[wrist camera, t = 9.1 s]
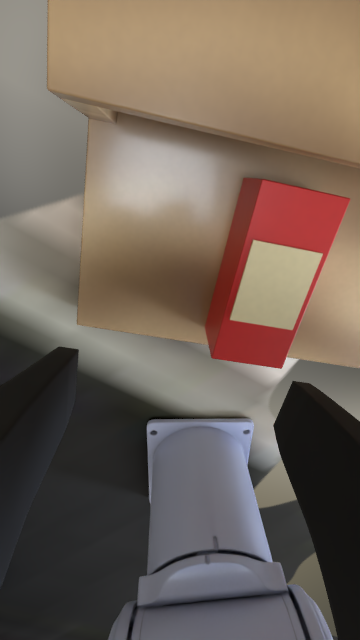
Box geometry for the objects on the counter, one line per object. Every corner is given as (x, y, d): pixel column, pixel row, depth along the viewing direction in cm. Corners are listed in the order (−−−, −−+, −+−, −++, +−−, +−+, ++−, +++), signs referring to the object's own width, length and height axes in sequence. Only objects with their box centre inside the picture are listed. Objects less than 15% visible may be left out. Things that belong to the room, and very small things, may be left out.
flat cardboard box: (350, 353, 21) (428, 430, 15) (85, 310, 19) (43, 379, 13) (525, 9, 14) (837, -132, 7) (115, -124, 11) (50, -483, 5)
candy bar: (263, 337, 18) (282, 370, 15) (204, 328, 18) (211, 359, 15) (315, 193, 15) (352, 198, 12) (243, 177, 14) (263, 178, 11)
